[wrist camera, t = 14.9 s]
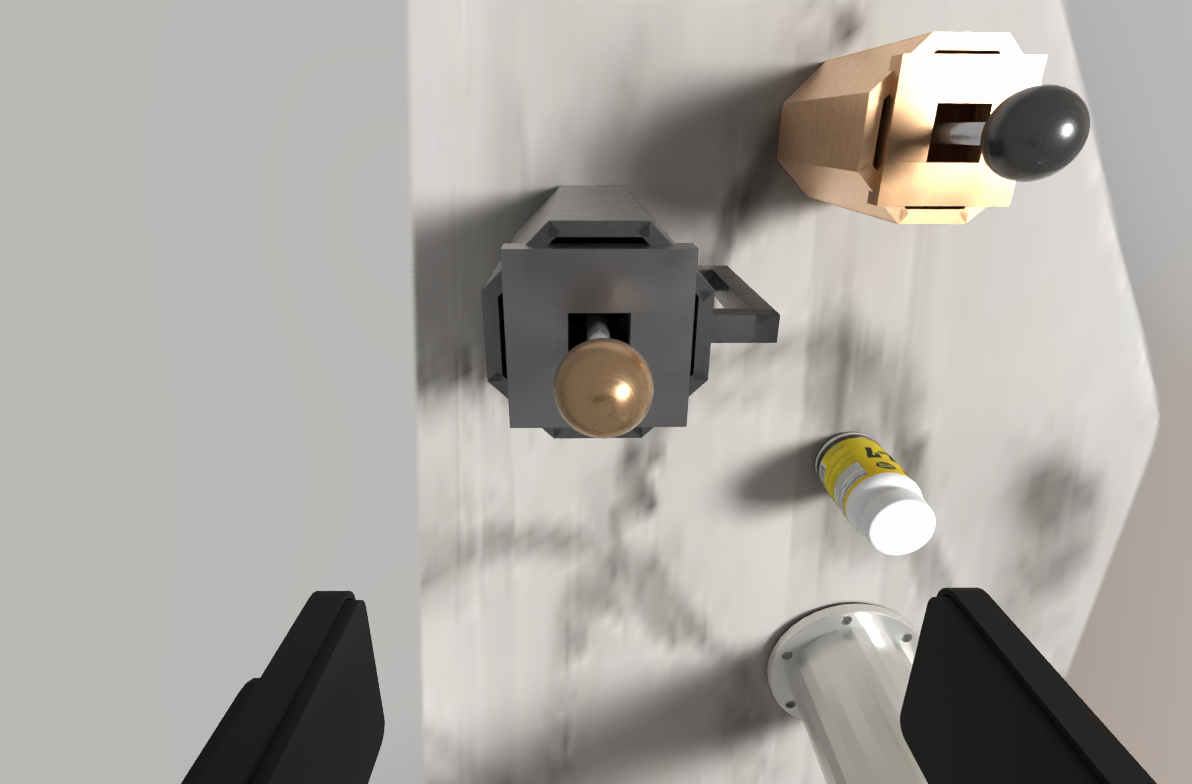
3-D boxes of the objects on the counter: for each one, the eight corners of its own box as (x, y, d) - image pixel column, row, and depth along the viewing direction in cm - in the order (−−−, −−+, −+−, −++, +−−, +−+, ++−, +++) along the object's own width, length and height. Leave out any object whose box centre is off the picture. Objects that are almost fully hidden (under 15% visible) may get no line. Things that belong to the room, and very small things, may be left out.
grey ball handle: (881, 102, 34) (1127, 81, 19) (871, 160, 36) (1096, 185, 20) (827, 102, 34) (1031, 81, 19) (819, 160, 36) (1005, 185, 20)
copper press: (961, 62, 35) (1141, 31, 24) (933, 197, 38) (1082, 225, 27) (787, 61, 35) (886, 29, 23) (772, 196, 37) (854, 225, 26)
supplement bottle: (894, 451, 44) (960, 520, 37) (848, 499, 46) (903, 574, 38) (844, 418, 43) (902, 481, 36) (799, 467, 45) (846, 538, 37)
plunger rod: (618, 239, 37) (662, 357, 18) (617, 292, 38) (657, 456, 19) (564, 239, 37) (549, 358, 18) (565, 292, 38) (552, 456, 19)
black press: (717, 186, 37) (807, 223, 23) (706, 331, 41) (778, 445, 26) (514, 185, 37) (473, 223, 22) (521, 332, 40) (489, 447, 26)
